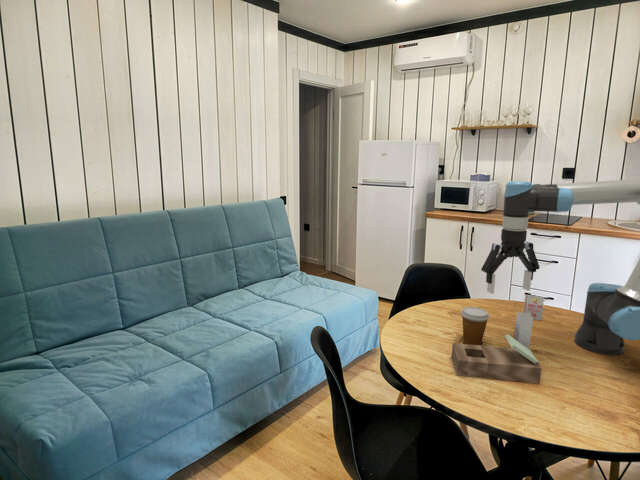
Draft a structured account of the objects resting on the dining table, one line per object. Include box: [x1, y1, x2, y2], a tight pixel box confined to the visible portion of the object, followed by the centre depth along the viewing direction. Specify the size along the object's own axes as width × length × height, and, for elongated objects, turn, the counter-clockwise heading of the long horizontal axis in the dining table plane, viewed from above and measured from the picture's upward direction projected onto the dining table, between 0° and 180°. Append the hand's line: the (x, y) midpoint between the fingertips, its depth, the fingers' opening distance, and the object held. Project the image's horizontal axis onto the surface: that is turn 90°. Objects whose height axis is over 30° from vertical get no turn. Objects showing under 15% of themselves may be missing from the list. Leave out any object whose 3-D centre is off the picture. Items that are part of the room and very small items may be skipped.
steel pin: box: [513, 311, 534, 350], centre depth 142 cm, size 4×4×14 cm
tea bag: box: [522, 294, 545, 322], centre depth 173 cm, size 4×7×10 cm, turn 66°
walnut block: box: [451, 342, 543, 385], centre depth 132 cm, size 24×12×5 cm, turn 80°
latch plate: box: [504, 333, 540, 365], centre depth 129 cm, size 10×8×1 cm
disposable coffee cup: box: [460, 306, 490, 346], centre depth 150 cm, size 10×10×12 cm
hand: (508, 291), depth 139 cm, fingers open, 13 cm apart
